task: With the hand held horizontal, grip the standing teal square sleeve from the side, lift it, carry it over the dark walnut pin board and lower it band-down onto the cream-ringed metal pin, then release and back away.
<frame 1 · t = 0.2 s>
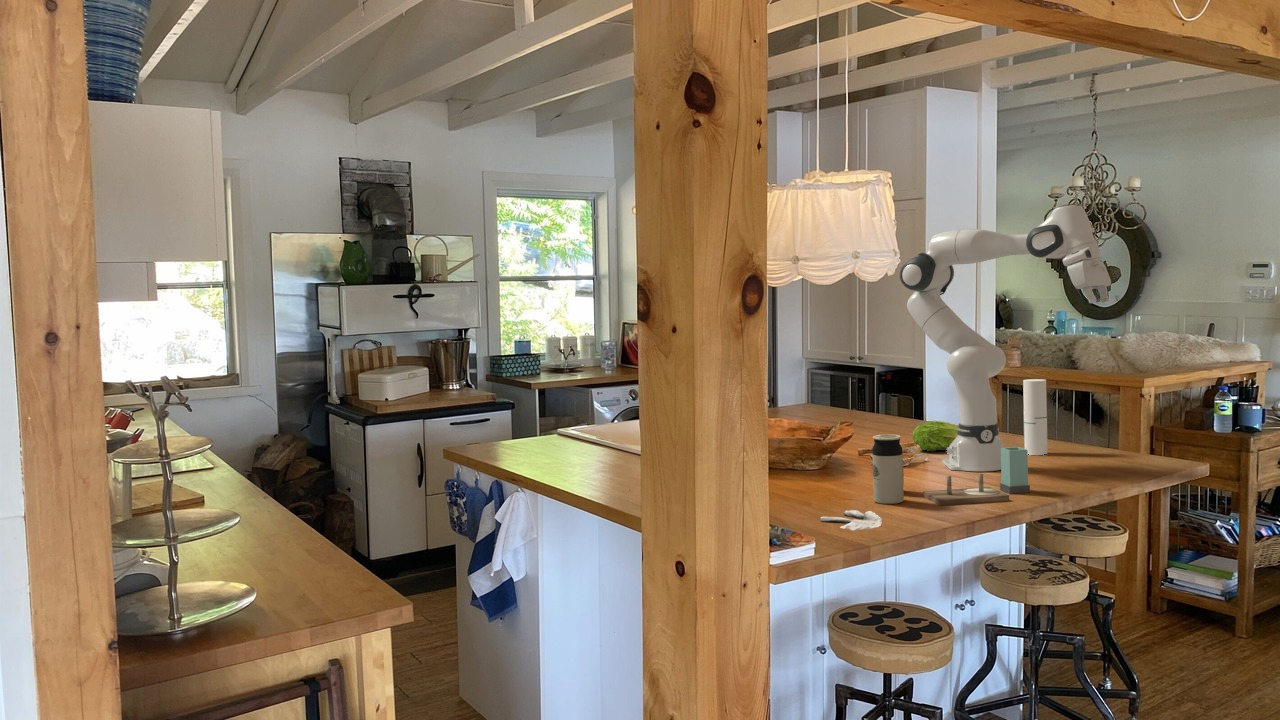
hand: (1099, 302, 282), 51 cm above the countertop, tool tilted 20°, fingers open, 8 cm apart
travel mug: (888, 502, 271), on the countertop
teal sleeve: (1014, 491, 276), on the countertop
lettuce: (947, 450, 349), on the countertop
cylindrical container: (1036, 454, 333), on the countertop
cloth: (851, 522, 252), on the countertop
soda can: (891, 492, 283), on the countertop
pin board: (965, 498, 269), on the countertop
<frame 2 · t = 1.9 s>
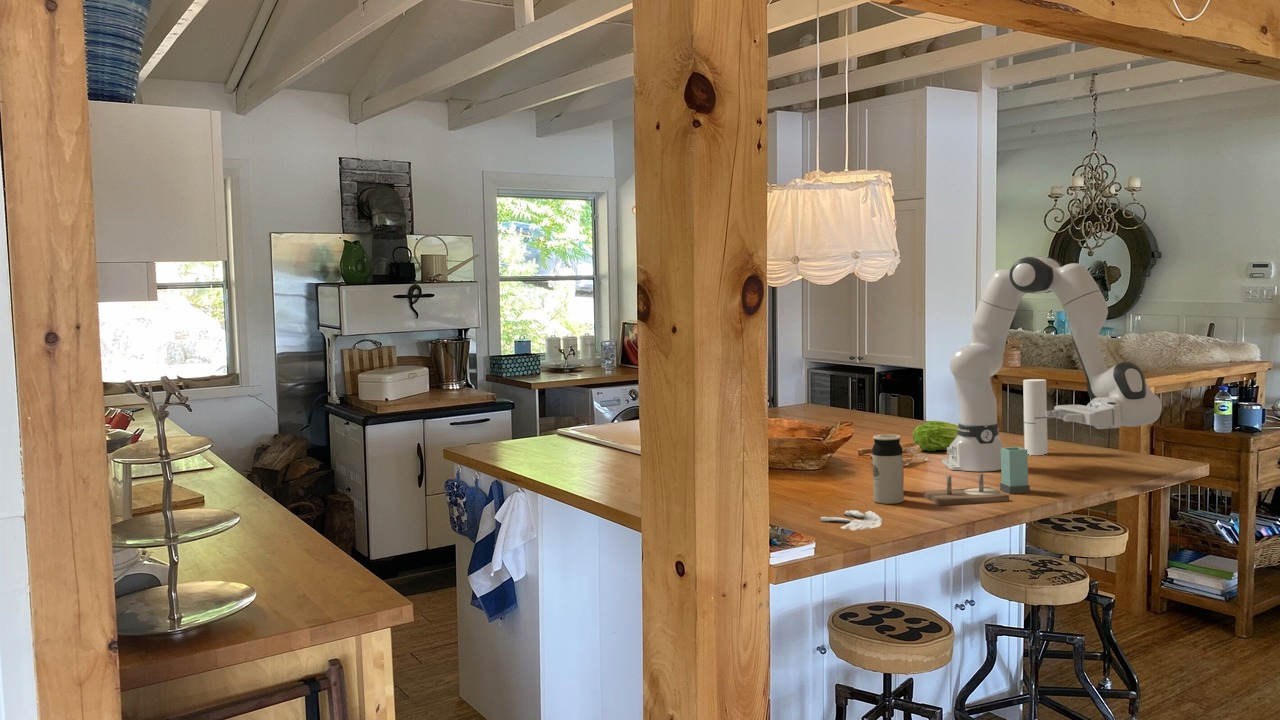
hand: (1055, 416, 276), 20 cm above the countertop, tool horizontal, fingers open, 8 cm apart
nothing on the countertop moved.
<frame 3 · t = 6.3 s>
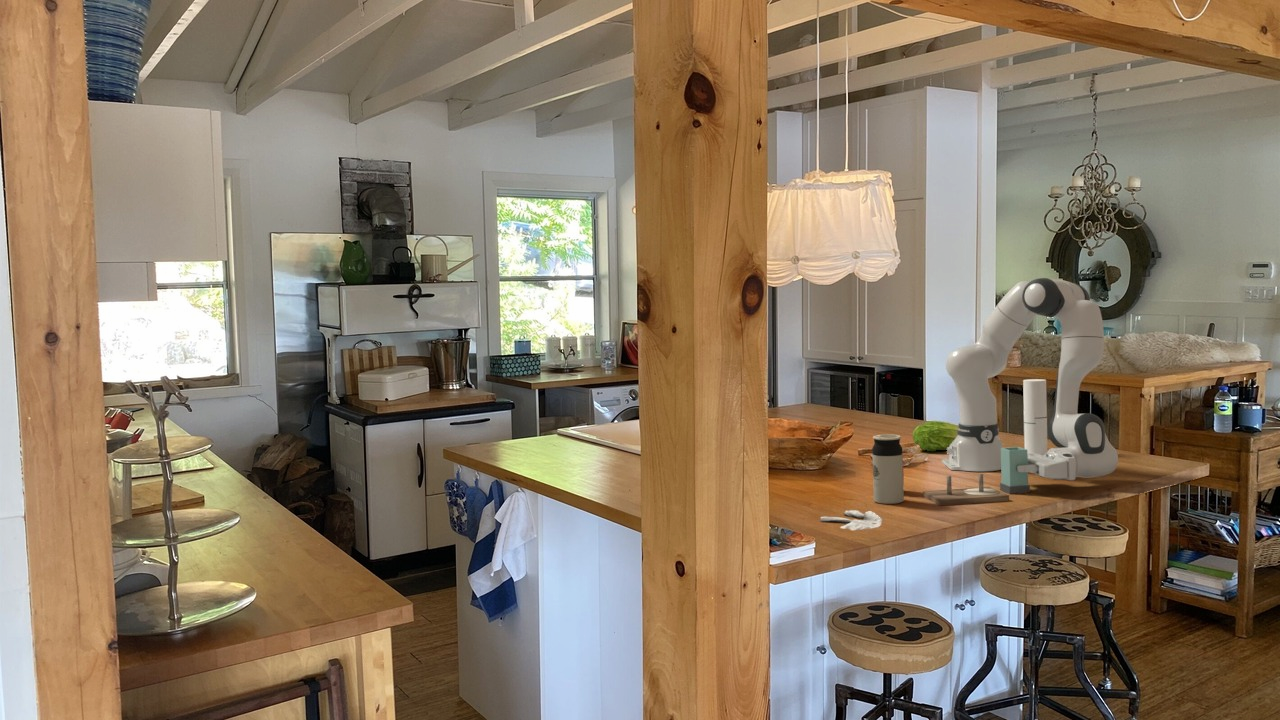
hand: (1011, 466, 275), 7 cm above the countertop, tool horizontal, fingers closed on teal sleeve, 5 cm apart
teal sleeve: (1014, 491, 276), on the countertop, touching gripper
everything else where it was.
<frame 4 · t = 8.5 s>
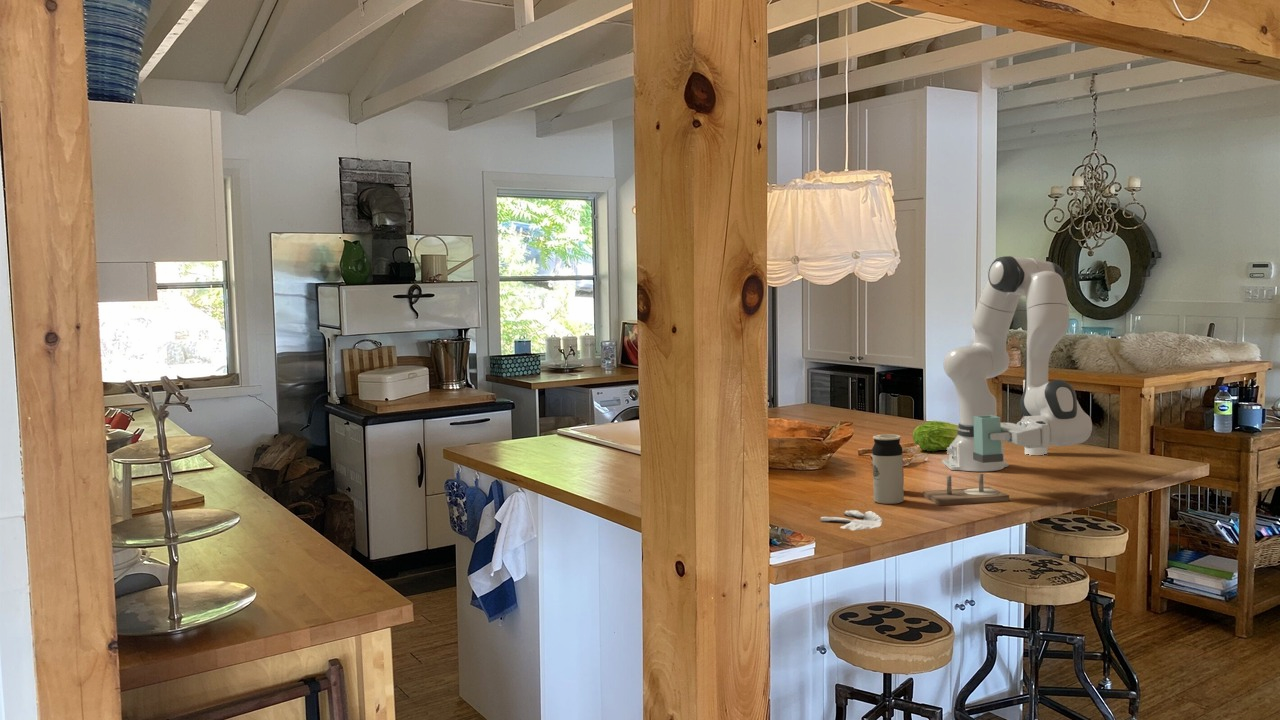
hand: (984, 435, 269), 17 cm above the countertop, tool horizontal, fingers closed on teal sleeve, 5 cm apart
teal sleeve: (988, 460, 270), point 10 cm above the countertop, touching gripper
everything else where it was.
when the fingers open (10 cm above the countertop, at t = 10.8 s): teal sleeve drops 1 cm, resting on pin board.
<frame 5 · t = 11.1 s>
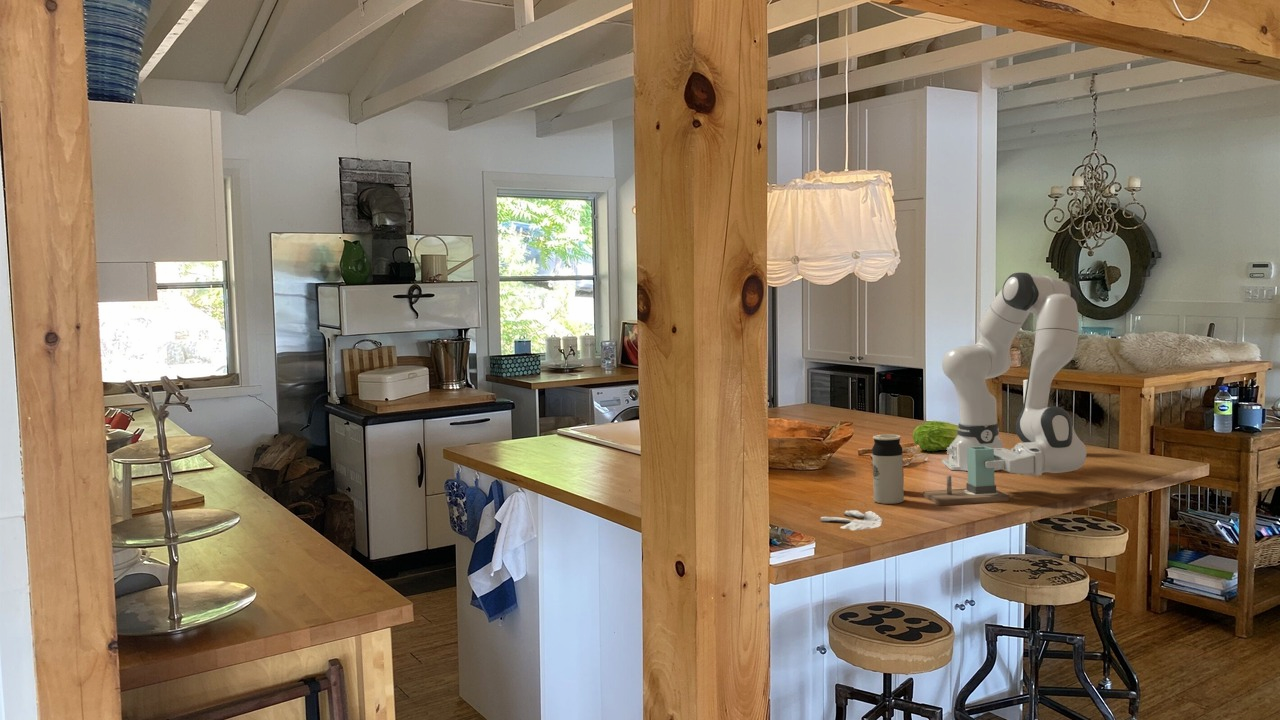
hand: (977, 461, 269), 10 cm above the countertop, tool horizontal, fingers open, 8 cm apart
teal sleeve: (981, 491, 270), point 2 cm above the countertop, touching pin board
everything else where it was.
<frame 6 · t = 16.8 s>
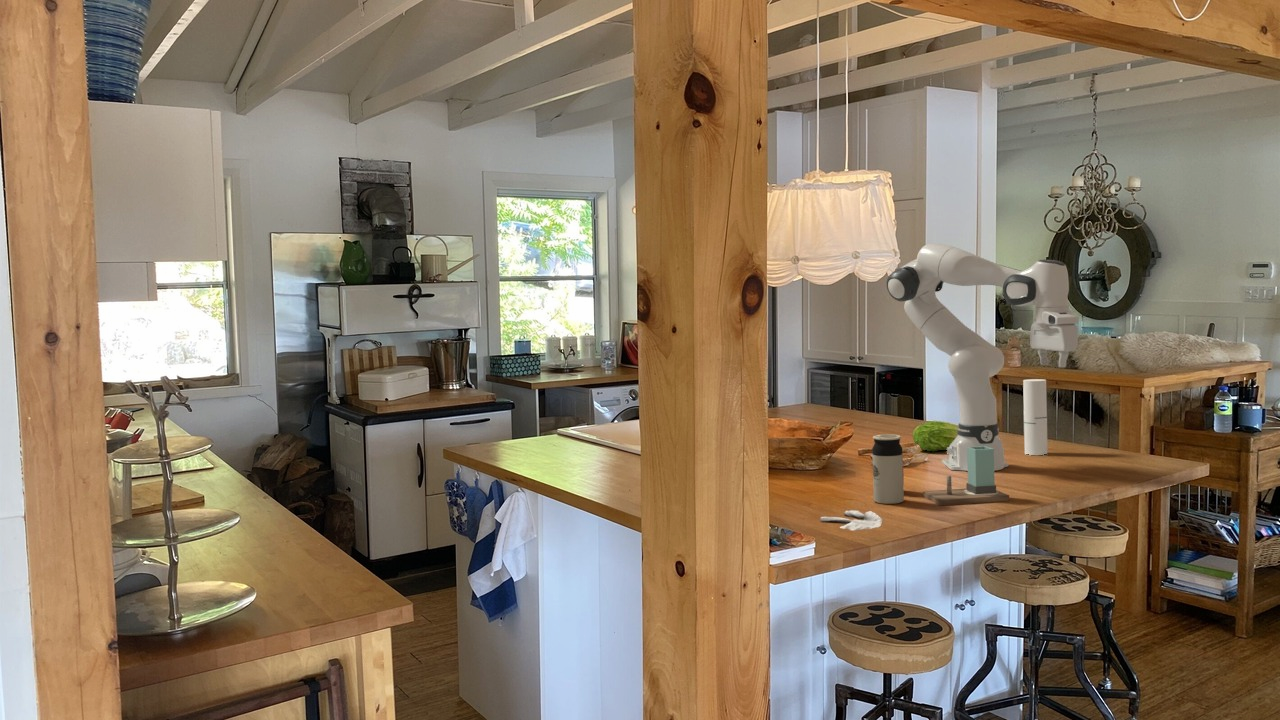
hand: (1053, 366, 279), 34 cm above the countertop, tool pointing down, fingers open, 8 cm apart
nothing on the countertop moved.
at the end: teal sleeve 0.0 cm from the target spot on the pin board, point 1.7 cm above the pin board's base; teal sleeve tilted 0°; the gripper is holding nothing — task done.
